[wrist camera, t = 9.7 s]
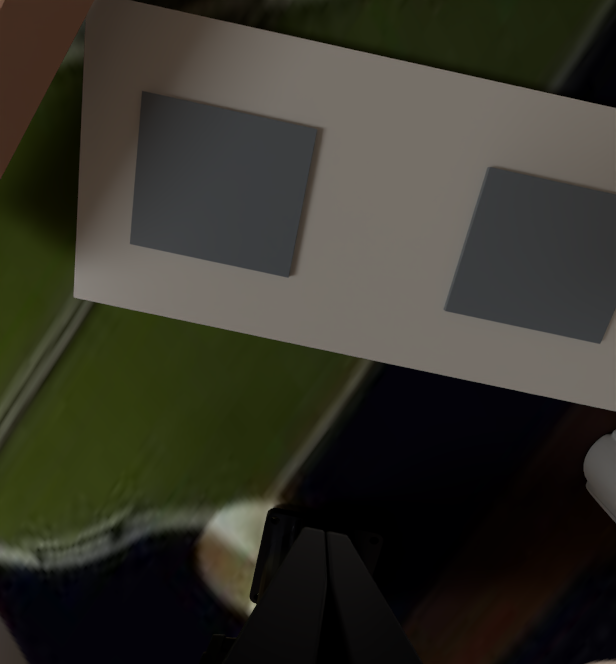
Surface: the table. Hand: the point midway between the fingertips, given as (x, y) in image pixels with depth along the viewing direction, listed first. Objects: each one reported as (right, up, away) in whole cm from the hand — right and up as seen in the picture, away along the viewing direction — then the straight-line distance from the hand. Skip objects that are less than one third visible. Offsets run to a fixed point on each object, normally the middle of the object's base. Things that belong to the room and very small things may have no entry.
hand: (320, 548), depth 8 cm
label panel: (+3, +9, +11) cm, 14 cm away
